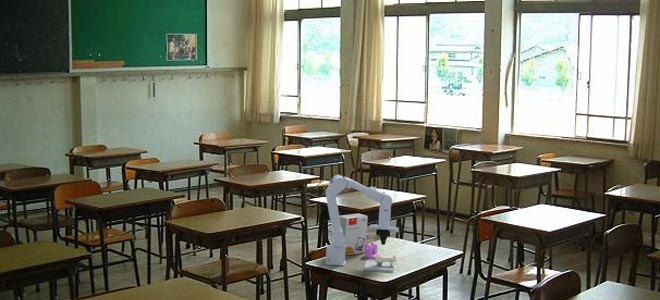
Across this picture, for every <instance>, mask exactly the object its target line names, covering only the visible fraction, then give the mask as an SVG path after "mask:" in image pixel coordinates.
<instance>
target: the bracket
mask: <svg viewBox="0 0 660 300" xmlns="http://www.w3.org/2000/svg"><path fill="white" fill-rule="evenodd" d="M377 255H381V256H384V257H388V256H386V255H382V254H379V253H378V244H377V243H376V242H371V243H366V245H365V252H364V257H365V258H369V259H373V260H376V256H377Z"/></svg>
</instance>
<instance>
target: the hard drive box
mask: <svg viewBox="0 0 660 300" xmlns="http://www.w3.org/2000/svg"><path fill="white" fill-rule="evenodd" d="M339 217H340V223H341V228H342V231H343V235H344V237H345V238H346V244H345V245H346V246H345V256H351V255H355V254H356V255H358V254H363V253H364V252H365V245H366V244H367V233H368V220H369V219H368V217H369V216H368V215H365V214H361V213H351V214H343V215H341V214H340V215H339Z"/></svg>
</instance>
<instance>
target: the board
mask: <svg viewBox="0 0 660 300" xmlns="http://www.w3.org/2000/svg"><path fill="white" fill-rule="evenodd" d="M375 261H376V260H375ZM375 261H374V260H366V261H365V264H364V267H363V271H366V272H367V271H368V272H381V273H391V274H392V273H393V272H394V268H395V262H393V258H391V260H390V262H383V263H376V262H375Z"/></svg>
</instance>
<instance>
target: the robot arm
mask: <svg viewBox="0 0 660 300" xmlns="http://www.w3.org/2000/svg"><path fill="white" fill-rule="evenodd" d="M326 188H327V189H326V191H325V198H326V202H327V208H328V215H329V220H330V225H331V234H330V236H331V237H330V238H331V241H332V243H330V245H329V244H328V245H327V246H326V249H325V250H326V251H325V252H326V253H325V265H328V266H329V265H330V266H342V267H343V266H346V263H347V260H346V255H345V246H346V245H345V244H346V238H345V237H344V235H343V231H342V228H341V223H340V217H339V216H340V213H339V206H338V201H337V196H338V194H340V192H342V191H343V190H345V189H346V190H347V189H354V190H357V191H359V192H360V193H363V194H365V197H366V198H368V199H370V200H372V201H374V202H376V203H379V211H378V224H369V230H377V234H378V236H379V239H380V244H381V245H383V246H384V245H386V242H387V239H388V236H389V235H390V233H391V232H393V233H398V232H399V227H394V226H392V225H391V212H392V209H391V208H392V204H393V202H394V201H393V198H392V196H390V194H388V193H387V192H385V191H382V190H379V189H377V187H376V186H369V187H367V186H365V185H364V184H361V183H360V182H357V181H356V180H354V179H351V178H349V177H347V176H342V175H341V174H335V175H334V176H332V178H331V179H329V184H328V186H327V187H326Z"/></svg>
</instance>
